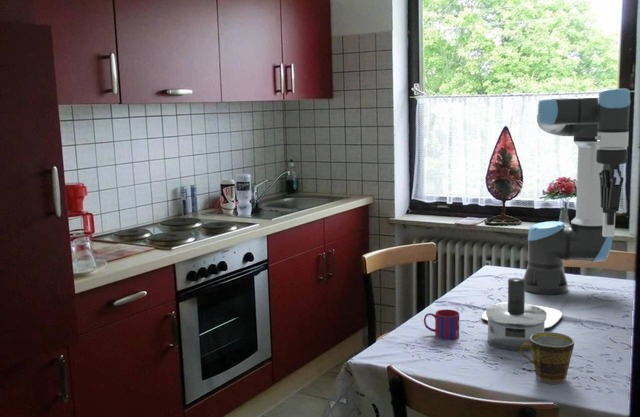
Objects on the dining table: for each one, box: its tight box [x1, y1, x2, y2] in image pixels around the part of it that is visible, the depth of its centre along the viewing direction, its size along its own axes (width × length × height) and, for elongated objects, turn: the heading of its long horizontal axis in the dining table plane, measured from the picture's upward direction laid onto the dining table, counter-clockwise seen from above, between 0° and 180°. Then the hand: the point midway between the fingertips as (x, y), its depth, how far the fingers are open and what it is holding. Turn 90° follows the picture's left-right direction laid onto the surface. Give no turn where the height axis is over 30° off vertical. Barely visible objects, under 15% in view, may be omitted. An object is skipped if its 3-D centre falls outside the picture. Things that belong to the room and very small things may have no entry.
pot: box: [487, 318, 545, 353], centre depth 185 cm, size 20×15×7 cm
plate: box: [481, 301, 563, 330], centre depth 204 cm, size 22×22×2 cm
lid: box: [485, 277, 547, 326], centre depth 183 cm, size 16×16×10 cm
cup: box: [423, 309, 460, 341], centre depth 191 cm, size 7×10×7 cm
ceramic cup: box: [519, 331, 575, 385], centre depth 159 cm, size 13×10×10 cm
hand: (608, 236), depth 179 cm, fingers closed
